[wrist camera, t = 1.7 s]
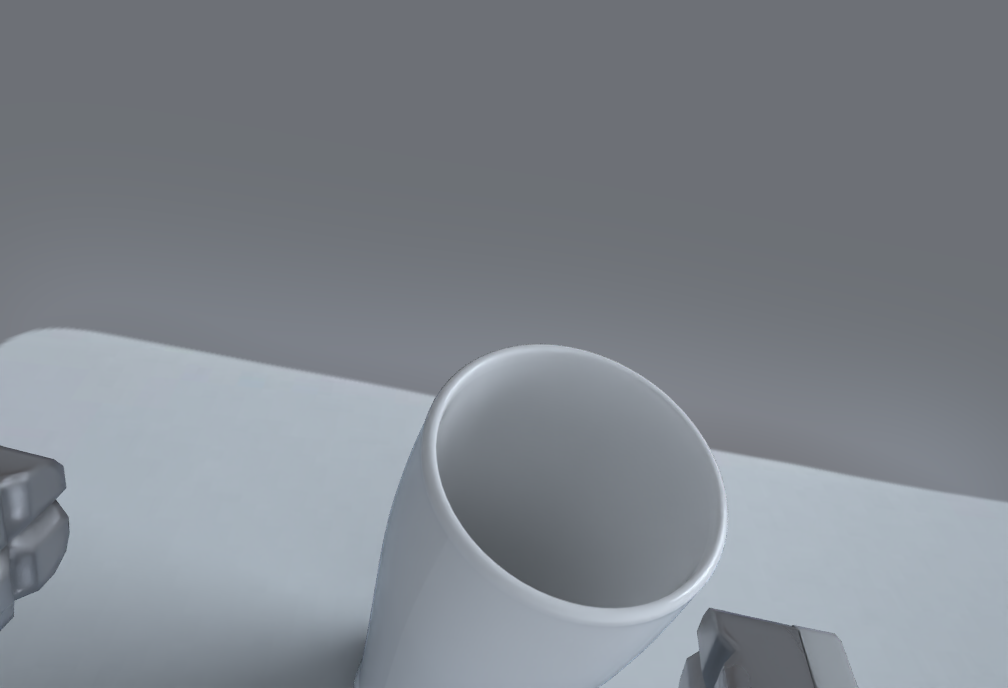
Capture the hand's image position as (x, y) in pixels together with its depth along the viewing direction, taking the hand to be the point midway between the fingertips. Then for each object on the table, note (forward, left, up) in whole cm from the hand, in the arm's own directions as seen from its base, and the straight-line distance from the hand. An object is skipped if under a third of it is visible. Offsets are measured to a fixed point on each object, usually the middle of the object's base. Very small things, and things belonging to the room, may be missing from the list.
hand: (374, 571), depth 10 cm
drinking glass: (0, +6, -18) cm, 20 cm away
